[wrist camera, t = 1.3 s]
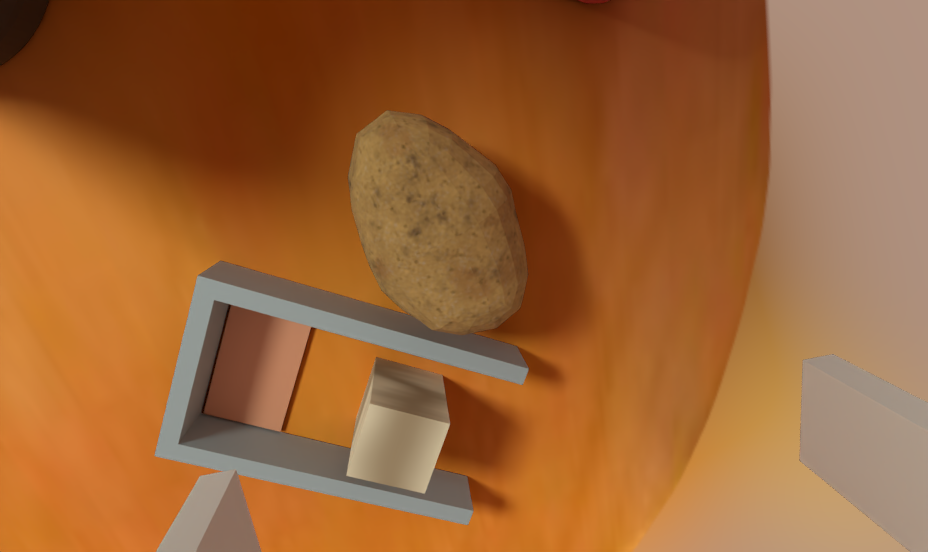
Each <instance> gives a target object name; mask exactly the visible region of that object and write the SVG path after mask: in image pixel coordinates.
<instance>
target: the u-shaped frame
mask: <svg viewBox="0 0 928 552" xmlns="http://www.w3.org/2000/svg"><path fill="white" fill-rule="evenodd" d="M229 304H230V305H231V308H230V312H229V315H228V319H227V323H226V327H225V331H224V335H223V339H222V343H221V347H220V350H219V354H218V358H217V362H216V366H215V370H214V374H213V378H212V382H211V385H210V389H209V393H208V397H207V401H206V405H205V409H204V414H203V413H201V412H202V409H203V405H204V401H205V397H206V393H207V389H208V385H209V381H210V377H211V373H212V369H213V366H214V362H215V358H216V354H217V350H218V346H219V342H220V338H221V334H222V330H223V326H224V323H225V319H226V315H227V311H228V307H229ZM311 327H314V328H318V329H321V330H325V331H328V332H332V333H336V334H339V335H343V336H347V337H350V338H354V339H358V340H361V341H365V342H368V343H372V344H376V345H379V346H383V347H387V348H390V349H394V350H397V351H401V352H405V353H408V354H412V355H416V356H419V357H423V358H427V359H430V360H434V361H437V362H441V363H445V364H448V365H452V366H456V367H459V368H463V369H466V370H470V371H474V372H477V373H481V374H485V375H488V376H492V377H496V378H499V379H503V380H506V381H510V382H514V383H517V384H521V385H523V383H524V380H525V378H526V375H527V373H528V370H529V368H528V366H527V364H526V362H525V361H524V359H523V357H522V355H521V353H520V351H519V349H518V348H517V346H514V345H511V344H507V343H504V342H501V341H497V340H494V339H490V338H487V337H483V336H480V335H476V334H473V333H470V334H466V335H457V334H451V333H445V332H440V331H434V330H431V329H430V328H428V327H427V326H426V325H425V324H423V323H422V322H421V321H419V320H418V319H416V318H415V317H413V316H411V315H407V314H404V313H400V312H397V311H393V310H390V309H386V308H383V307H379V306H376V305H372V304H369V303H365V302H362V301H359V300H355V299H352V298H348V297H345V296H341V295H338V294H334V293H331V292H327V291H324V290H320V289H317V288H314V287H310V286H307V285H303V284H300V283H296V282H293V281H289V280H286V279H282V278H279V277H275V276H272V275H269V274H265V273H262V272H258V271H255V270H251V269H248V268H244V267H241V266H237V265H234V264H230V263H227V262H224V261H219V262H218V263H216V264H215V265H213V266H212V267H210V268H209V269H207V270H206V271H204V272H202V273H201V274H199V275H198V277H197V281H196V285H195V289H194V294H193V298H192V302H191V306H190V310H189V314H188V319H187V323H186V327H185V331H184V335H183V339H182V343H181V348H180V352H179V356H178V360H177V364H176V368H175V373H174V377H173V381H172V385H171V389H170V393H169V398H168V402H167V406H166V410H165V414H164V418H163V423H162V427H161V431H160V435H159V439H158V443H157V448H156V452H155V456H157V457H161V458H166V459H170V460H175V461H179V462H184V463H188V464H193V465H197V466H202V467H206V468H211V469H215V470H220V471H229V470H234V469H236V471H237V474H238V475H243V476H247V477H252V478H256V479H261V480H265V481H270V482H274V483H279V484H283V485H288V486H293V487H297V488H302V489H306V490H311V491H315V492H320V493H324V494H329V495H333V496H338V497H342V498H347V499H351V500H356V501H361V502H365V503H370V504H374V505H379V506H383V507H388V508H392V509H397V510H401V511H406V512H410V513H415V514H419V515H424V516H429V517H433V518H438V519H442V520H447V521H451V522H456V523H460V524H465V525H468V524H469V521H470V518H471V516H472V513H473V506H472V500H471V495H470V489H469V484H468V478H467V476H464V475H460V474H456V473H451V472H447V471H443V470H439V469H435V468H434V470H433V473H432V475H431V478H430V481H429V484H428V486H427V489H426V492H425V494H424V493H420V492H415V491H411V490H407V489H402V488H398V487H393V486H389V485H385V484H380V483H376V482H371V481H367V480H363V479H358V478H354V477H349V476H346V475H347V469H348V463H349V457H350V452H351V449H350V448H346V447H342V446H338V445H334V444H329V443H325V442H321V441H317V440H313V439H308V438H304V437H300V436H296V435H292V434H287V433H283V432H281V429H282V426H283V422H284V419H285V415H286V412H287V409H288V405H289V402H290V398H291V395H292V391H293V388H294V385H295V381H296V378H297V374H298V371H299V368H300V364H301V361H302V357H303V354H304V350H305V347H306V344H307V340H308V337H309V333H310V330H311ZM207 414H208V415H207ZM220 417H221V418H220ZM224 418H225V419H224ZM228 419H229V420H228ZM237 421H238V422H237ZM241 422H242V423H241ZM245 423H246V424H245ZM258 426H259V427H258ZM262 427H263V428H262ZM266 428H267V429H266ZM279 431H280V432H279Z"/></svg>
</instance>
